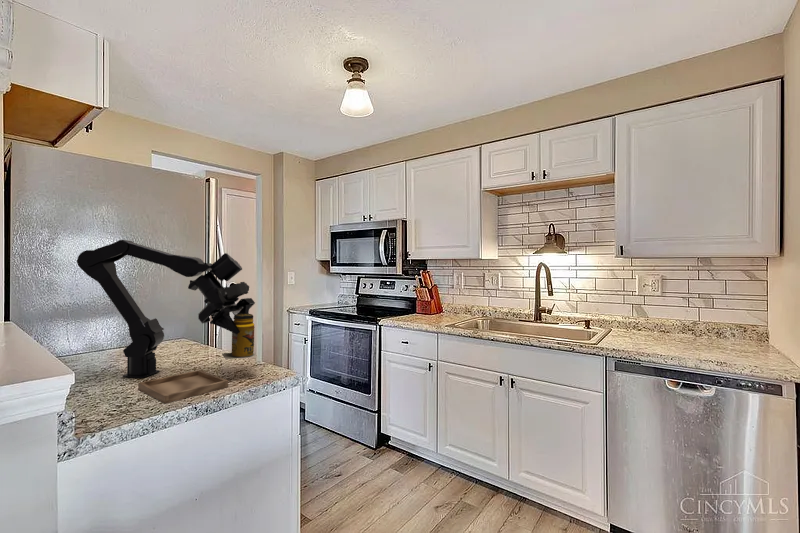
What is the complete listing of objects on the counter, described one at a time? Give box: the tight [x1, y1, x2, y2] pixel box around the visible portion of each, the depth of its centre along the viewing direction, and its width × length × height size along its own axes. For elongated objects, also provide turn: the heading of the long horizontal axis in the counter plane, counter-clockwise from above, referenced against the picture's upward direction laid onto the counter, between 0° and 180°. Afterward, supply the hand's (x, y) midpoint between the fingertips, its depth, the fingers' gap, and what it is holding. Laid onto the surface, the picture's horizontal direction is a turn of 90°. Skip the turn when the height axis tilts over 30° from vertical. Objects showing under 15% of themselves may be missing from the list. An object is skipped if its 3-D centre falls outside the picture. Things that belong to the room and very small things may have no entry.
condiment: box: [221, 313, 258, 361], centre depth 113 cm, size 7×8×12 cm
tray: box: [137, 369, 229, 404], centre depth 102 cm, size 16×16×2 cm
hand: (245, 331), depth 113 cm, fingers closed on condiment, 6 cm apart
